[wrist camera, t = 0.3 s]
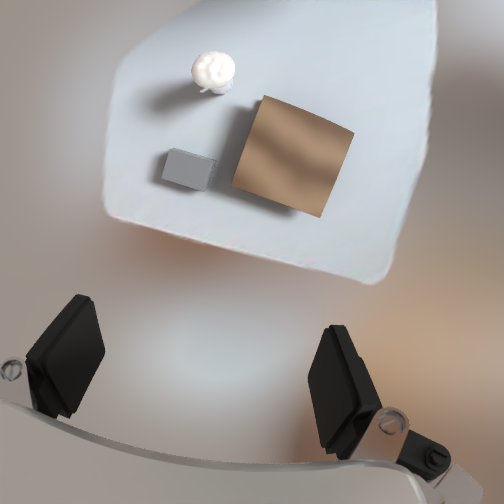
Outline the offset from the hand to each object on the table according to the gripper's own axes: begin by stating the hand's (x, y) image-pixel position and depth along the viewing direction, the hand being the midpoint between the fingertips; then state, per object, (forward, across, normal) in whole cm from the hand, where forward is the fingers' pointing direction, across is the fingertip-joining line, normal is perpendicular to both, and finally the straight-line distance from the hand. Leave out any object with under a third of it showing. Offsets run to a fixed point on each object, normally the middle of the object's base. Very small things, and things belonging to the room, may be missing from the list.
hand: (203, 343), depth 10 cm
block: (+30, +6, -3) cm, 31 cm away
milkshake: (+30, +4, -15) cm, 33 cm away
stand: (+30, -6, -6) cm, 31 cm away
